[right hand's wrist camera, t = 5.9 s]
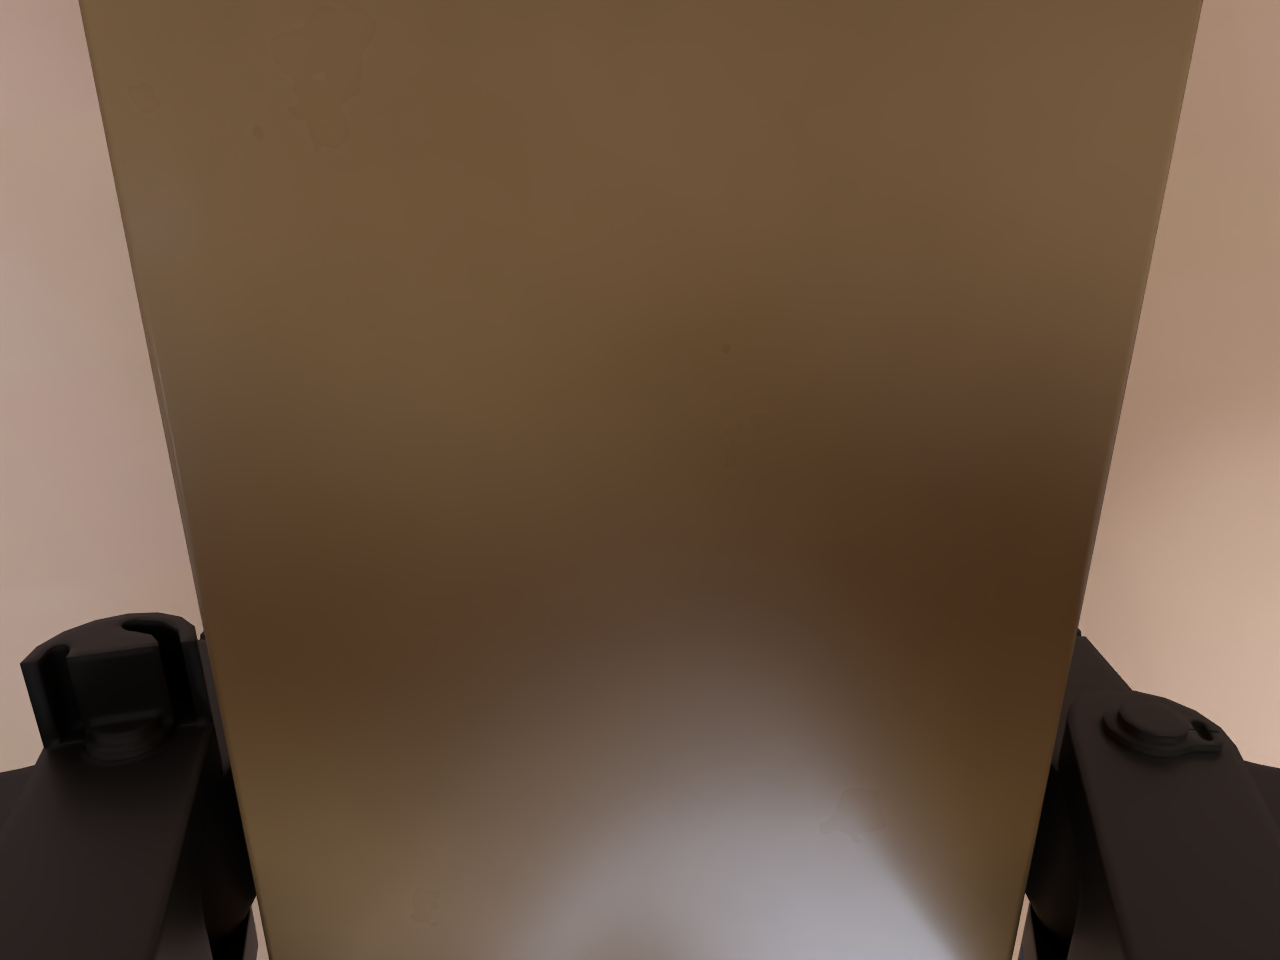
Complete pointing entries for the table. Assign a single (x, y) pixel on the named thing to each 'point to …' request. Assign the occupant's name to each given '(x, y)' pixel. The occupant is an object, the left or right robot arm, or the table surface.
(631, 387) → the beam
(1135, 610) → the table surface
